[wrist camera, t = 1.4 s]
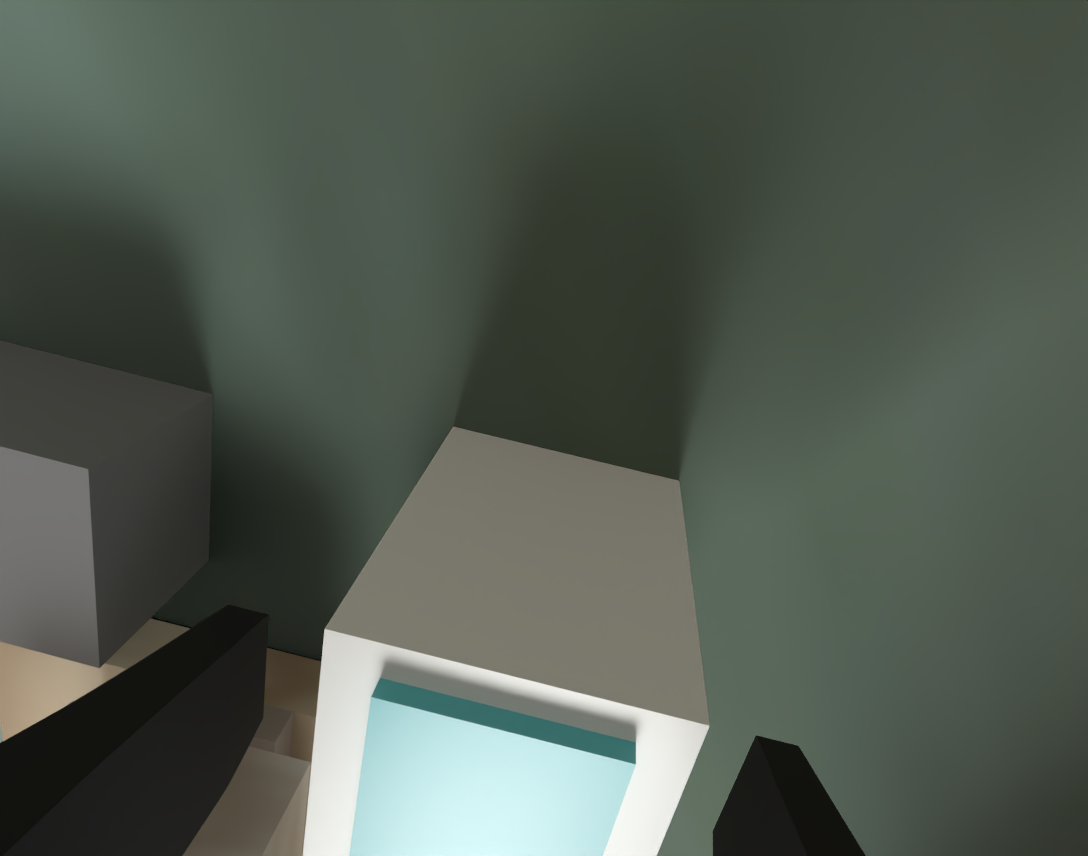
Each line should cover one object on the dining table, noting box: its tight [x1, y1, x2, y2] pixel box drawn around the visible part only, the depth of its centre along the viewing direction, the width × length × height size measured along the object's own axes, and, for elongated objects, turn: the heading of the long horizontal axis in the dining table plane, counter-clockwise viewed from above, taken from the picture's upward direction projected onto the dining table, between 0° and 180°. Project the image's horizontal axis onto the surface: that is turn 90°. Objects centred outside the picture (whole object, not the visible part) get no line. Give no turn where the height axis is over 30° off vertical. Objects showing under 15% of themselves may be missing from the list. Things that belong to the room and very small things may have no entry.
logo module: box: [303, 427, 710, 856], centre depth 11 cm, size 4×5×6 cm
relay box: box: [0, 340, 213, 668], centre depth 13 cm, size 5×4×4 cm
